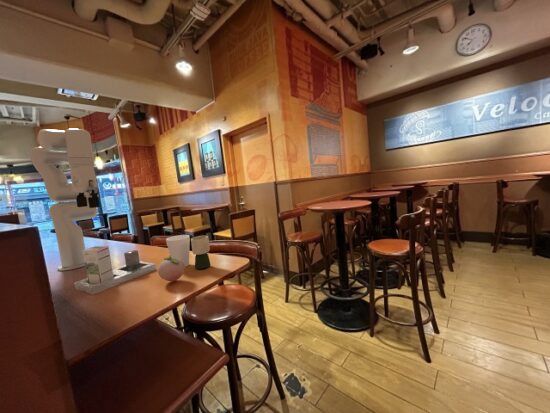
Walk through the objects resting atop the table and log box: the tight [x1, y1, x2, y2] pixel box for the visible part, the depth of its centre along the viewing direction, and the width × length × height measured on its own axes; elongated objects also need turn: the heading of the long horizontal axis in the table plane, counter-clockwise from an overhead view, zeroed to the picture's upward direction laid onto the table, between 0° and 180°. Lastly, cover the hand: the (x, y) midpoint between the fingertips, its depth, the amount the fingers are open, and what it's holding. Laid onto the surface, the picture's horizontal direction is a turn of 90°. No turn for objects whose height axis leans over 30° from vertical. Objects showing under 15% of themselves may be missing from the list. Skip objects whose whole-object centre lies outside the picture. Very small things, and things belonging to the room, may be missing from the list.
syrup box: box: [83, 245, 114, 285], centre depth 86 cm, size 6×6×14 cm
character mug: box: [190, 235, 211, 270], centre depth 96 cm, size 11×7×13 cm, turn 55°
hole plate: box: [73, 249, 157, 295], centre depth 91 cm, size 13×24×9 cm, turn 152°
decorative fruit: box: [157, 255, 185, 283], centre depth 83 cm, size 9×8×10 cm
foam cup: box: [165, 234, 191, 268], centre depth 99 cm, size 10×9×13 cm
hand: (88, 207), depth 89 cm, fingers open, 9 cm apart
